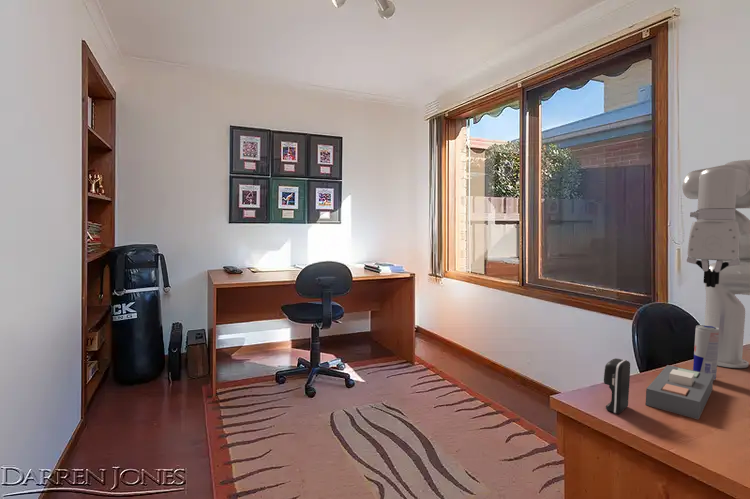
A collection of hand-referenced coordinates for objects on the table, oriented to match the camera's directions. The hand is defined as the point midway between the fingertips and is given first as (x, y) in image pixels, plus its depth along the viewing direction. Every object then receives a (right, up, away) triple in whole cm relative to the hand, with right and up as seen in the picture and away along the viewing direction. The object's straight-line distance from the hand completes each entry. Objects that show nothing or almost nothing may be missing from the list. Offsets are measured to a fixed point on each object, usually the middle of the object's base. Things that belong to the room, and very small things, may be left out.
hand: (710, 286), depth 107 cm
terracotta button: (-17, -26, -10) cm, 33 cm away
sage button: (-6, -26, +1) cm, 27 cm away
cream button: (-11, -25, -5) cm, 27 cm away
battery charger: (-32, -28, -11) cm, 44 cm away
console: (-11, -27, -5) cm, 30 cm away
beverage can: (+4, -27, +8) cm, 28 cm away
